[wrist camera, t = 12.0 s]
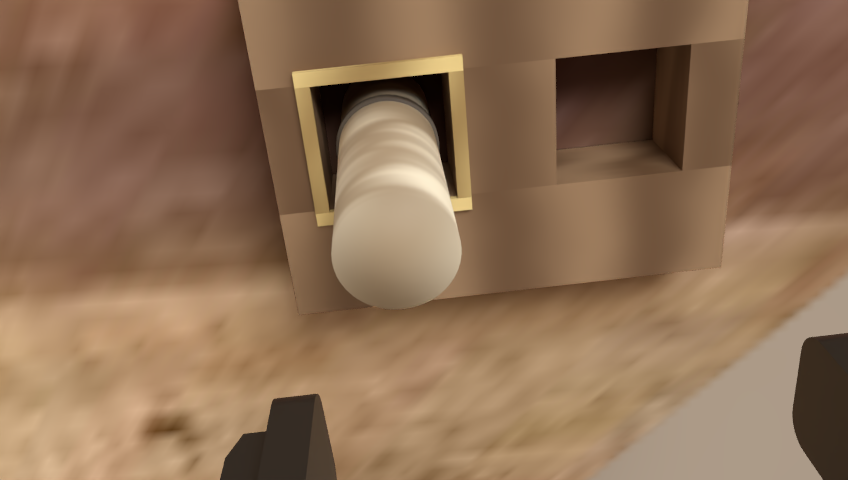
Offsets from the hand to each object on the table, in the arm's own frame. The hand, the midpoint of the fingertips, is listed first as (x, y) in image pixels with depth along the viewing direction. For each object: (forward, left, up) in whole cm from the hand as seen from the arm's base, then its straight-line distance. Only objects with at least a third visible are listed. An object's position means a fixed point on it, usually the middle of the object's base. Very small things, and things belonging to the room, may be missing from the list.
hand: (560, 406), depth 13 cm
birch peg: (+3, +3, -25) cm, 25 cm away
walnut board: (-2, +3, -25) cm, 25 cm away
